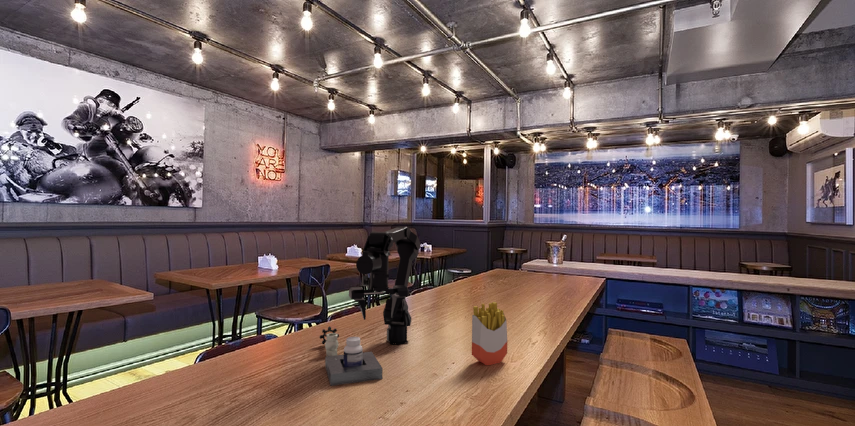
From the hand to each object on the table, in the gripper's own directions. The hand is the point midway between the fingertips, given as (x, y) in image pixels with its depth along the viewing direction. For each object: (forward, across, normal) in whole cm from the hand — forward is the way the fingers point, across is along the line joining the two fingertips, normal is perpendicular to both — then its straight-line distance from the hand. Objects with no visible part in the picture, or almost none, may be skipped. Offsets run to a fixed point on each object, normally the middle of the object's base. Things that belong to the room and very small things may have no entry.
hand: (378, 318), depth 125 cm
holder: (+12, +10, +11) cm, 19 cm away
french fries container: (+12, -32, +16) cm, 38 cm away
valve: (+12, +14, -10) cm, 21 cm away
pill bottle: (+12, +10, +11) cm, 19 cm away
